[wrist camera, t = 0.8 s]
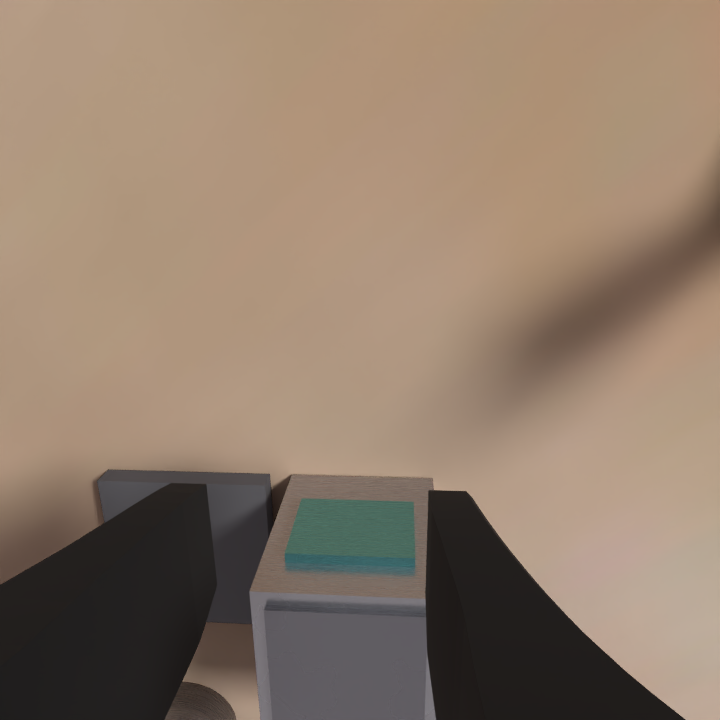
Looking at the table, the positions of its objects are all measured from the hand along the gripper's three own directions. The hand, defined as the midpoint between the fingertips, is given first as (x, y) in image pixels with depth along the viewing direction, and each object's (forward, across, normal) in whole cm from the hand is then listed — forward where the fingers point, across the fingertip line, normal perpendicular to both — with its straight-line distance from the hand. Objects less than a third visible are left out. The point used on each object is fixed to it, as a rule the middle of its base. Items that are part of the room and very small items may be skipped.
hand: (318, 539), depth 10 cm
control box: (+10, 0, +8) cm, 12 cm away
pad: (+10, +6, +8) cm, 14 cm away
